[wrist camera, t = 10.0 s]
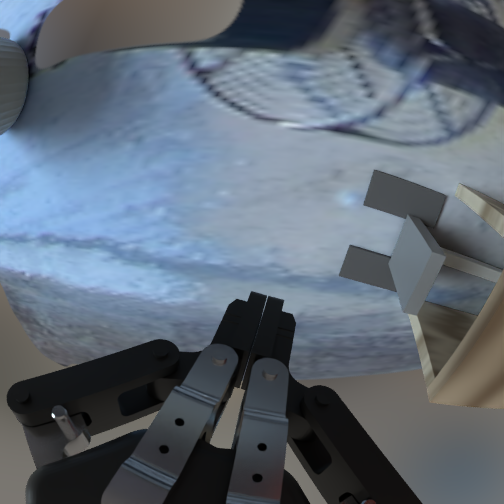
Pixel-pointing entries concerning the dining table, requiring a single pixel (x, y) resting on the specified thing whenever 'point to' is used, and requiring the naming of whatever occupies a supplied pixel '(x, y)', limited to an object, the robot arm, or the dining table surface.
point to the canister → (12, 82)
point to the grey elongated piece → (426, 265)
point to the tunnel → (465, 335)
